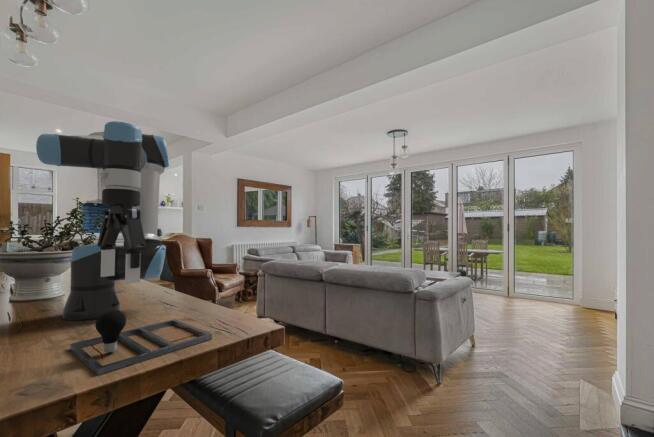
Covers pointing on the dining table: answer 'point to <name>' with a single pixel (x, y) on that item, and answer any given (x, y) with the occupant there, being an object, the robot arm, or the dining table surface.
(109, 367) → the gray divided frame
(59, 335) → the dining table surface
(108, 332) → the light bulb
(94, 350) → the dining table surface
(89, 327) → the dining table surface
